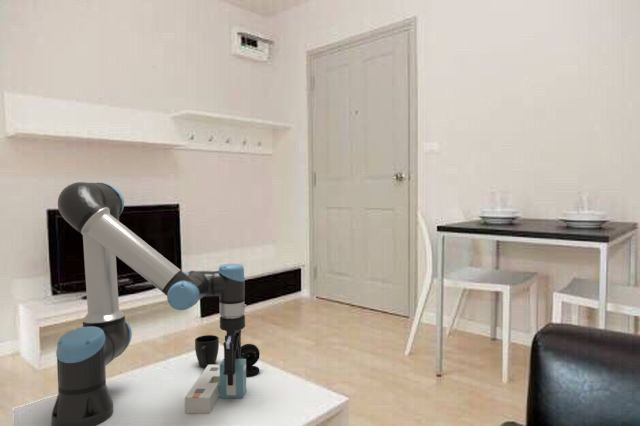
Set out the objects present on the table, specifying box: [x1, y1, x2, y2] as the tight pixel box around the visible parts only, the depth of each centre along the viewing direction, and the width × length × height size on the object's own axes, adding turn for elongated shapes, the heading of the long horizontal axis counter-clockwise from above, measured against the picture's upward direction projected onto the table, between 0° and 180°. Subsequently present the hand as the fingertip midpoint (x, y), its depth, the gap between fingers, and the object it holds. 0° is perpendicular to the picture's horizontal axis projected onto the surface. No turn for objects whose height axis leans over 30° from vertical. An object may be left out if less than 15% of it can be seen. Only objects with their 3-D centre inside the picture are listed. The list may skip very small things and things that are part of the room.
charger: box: [212, 358, 247, 399], centre depth 138 cm, size 10×5×10 cm, turn 88°
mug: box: [194, 334, 220, 369], centre depth 160 cm, size 8×12×10 cm
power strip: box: [184, 364, 220, 414], centre depth 142 cm, size 7×32×5 cm, turn 178°
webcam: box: [241, 343, 260, 378], centre depth 154 cm, size 8×8×10 cm
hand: (233, 390), depth 138 cm, fingers closed on charger, 5 cm apart
